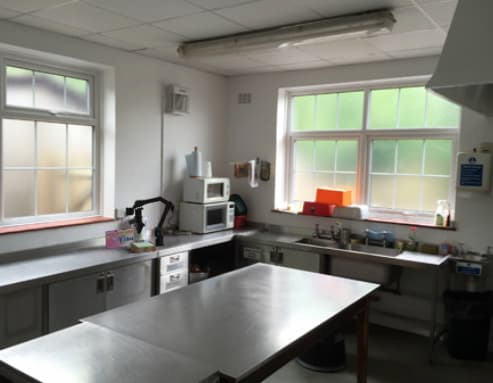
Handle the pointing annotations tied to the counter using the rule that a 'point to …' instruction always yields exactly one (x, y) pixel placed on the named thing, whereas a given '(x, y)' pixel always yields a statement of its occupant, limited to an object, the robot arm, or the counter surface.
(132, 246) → the box
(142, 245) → the lid
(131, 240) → the gum box
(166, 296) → the counter surface
